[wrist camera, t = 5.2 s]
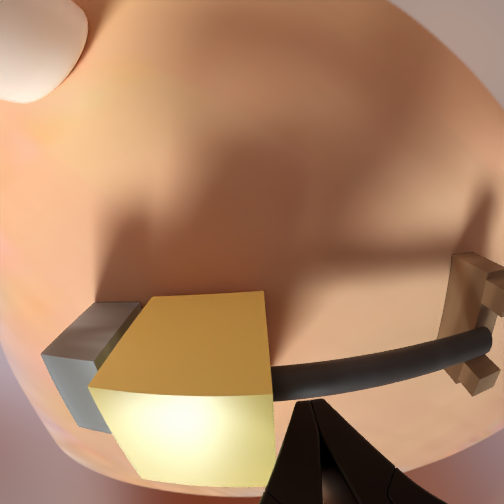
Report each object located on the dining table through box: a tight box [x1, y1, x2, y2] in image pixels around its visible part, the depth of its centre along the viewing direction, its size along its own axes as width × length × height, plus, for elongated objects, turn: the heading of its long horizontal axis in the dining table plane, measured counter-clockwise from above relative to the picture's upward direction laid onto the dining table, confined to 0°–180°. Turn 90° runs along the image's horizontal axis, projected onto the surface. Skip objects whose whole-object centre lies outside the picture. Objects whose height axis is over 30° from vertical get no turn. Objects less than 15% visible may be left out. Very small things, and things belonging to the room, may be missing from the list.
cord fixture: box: [41, 252, 504, 434], centre depth 10 cm, size 18×6×4 cm, turn 94°
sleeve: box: [87, 291, 276, 487], centre depth 9 cm, size 4×4×6 cm
